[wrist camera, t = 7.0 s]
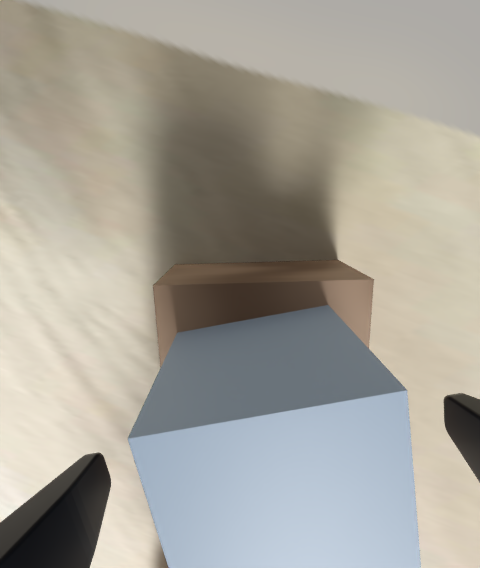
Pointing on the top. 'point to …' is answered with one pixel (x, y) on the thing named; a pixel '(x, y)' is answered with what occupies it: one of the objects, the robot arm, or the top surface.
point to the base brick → (258, 295)
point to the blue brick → (278, 449)
